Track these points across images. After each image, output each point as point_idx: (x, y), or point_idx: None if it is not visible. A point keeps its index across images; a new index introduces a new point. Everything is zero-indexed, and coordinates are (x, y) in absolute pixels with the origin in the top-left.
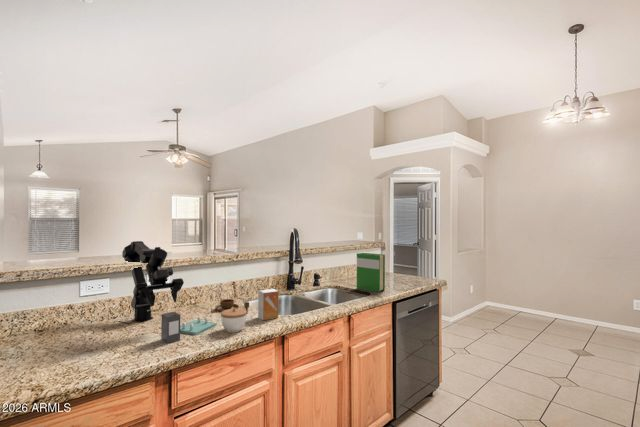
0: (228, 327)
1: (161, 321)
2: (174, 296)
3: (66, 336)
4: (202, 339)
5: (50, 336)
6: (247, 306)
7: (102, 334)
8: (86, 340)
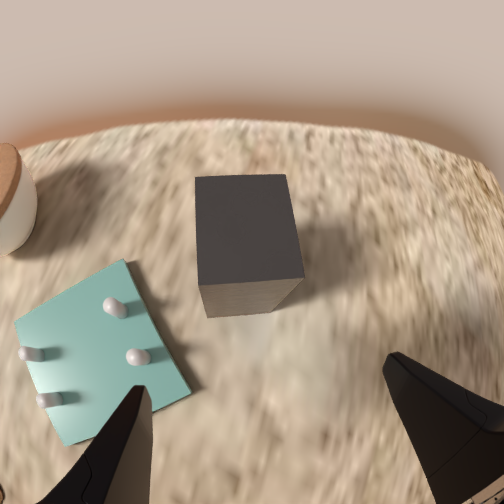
0: (35, 188)
1: (290, 291)
2: (133, 435)
3: None
4: (132, 200)
5: None
6: None
7: None
8: None
